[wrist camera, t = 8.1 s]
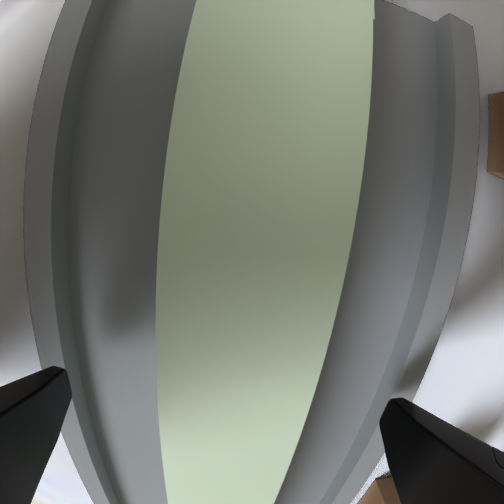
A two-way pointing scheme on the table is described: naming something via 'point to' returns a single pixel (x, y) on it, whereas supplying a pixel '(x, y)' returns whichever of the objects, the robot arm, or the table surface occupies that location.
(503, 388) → the table surface
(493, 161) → the hook post
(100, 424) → the track
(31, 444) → the robot arm
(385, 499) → the hook post
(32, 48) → the table surface
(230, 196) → the rail
